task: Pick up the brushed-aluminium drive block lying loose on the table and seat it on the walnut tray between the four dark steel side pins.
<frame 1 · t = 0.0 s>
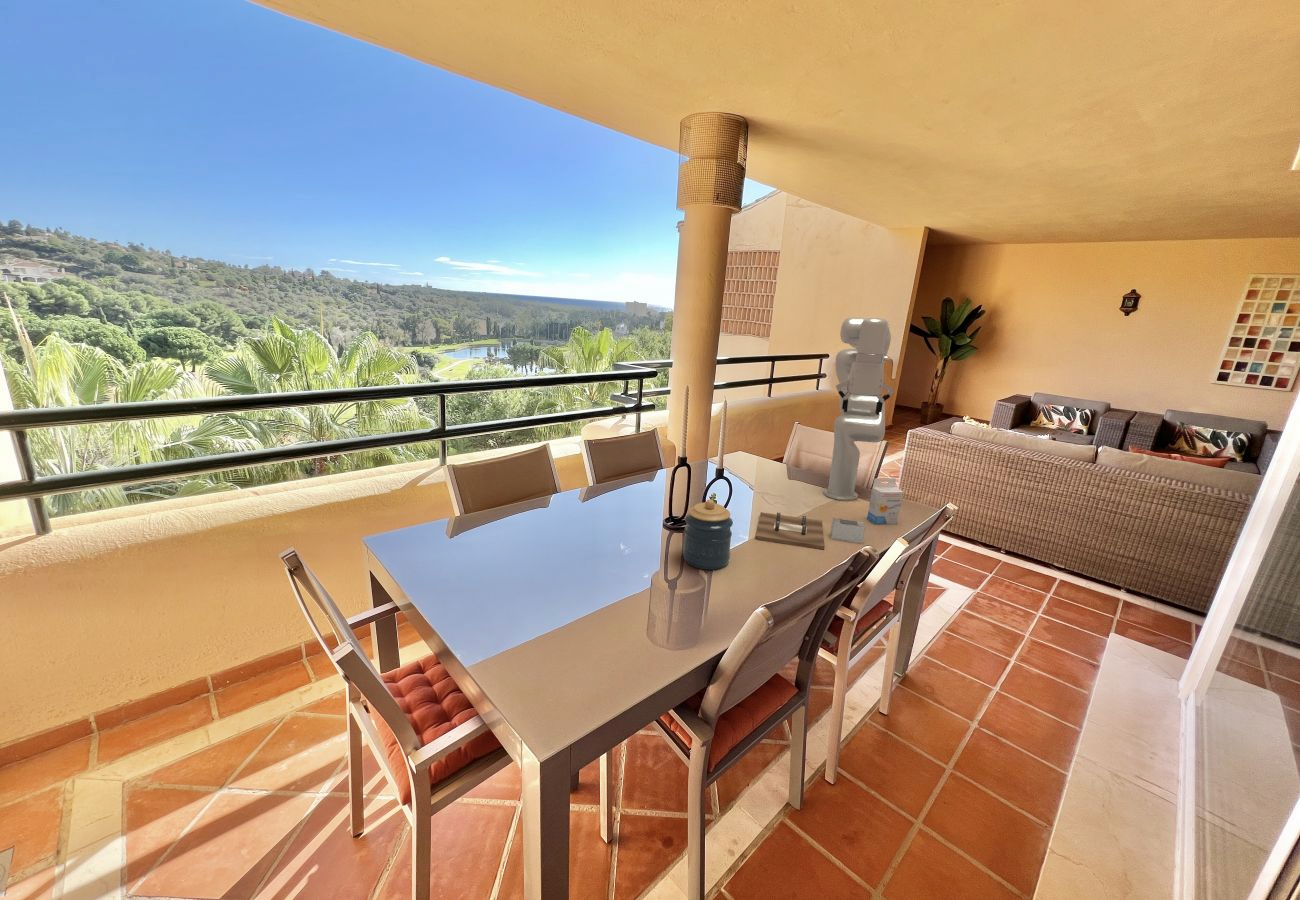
hand: (860, 412, 162), 37 cm above the table, tool pointing down, fingers open, 9 cm apart
pin tray: (789, 531, 159), on the table
drive: (846, 538, 156), on the table
canister: (705, 560, 139), on the table
ink box: (882, 522, 170), on the table
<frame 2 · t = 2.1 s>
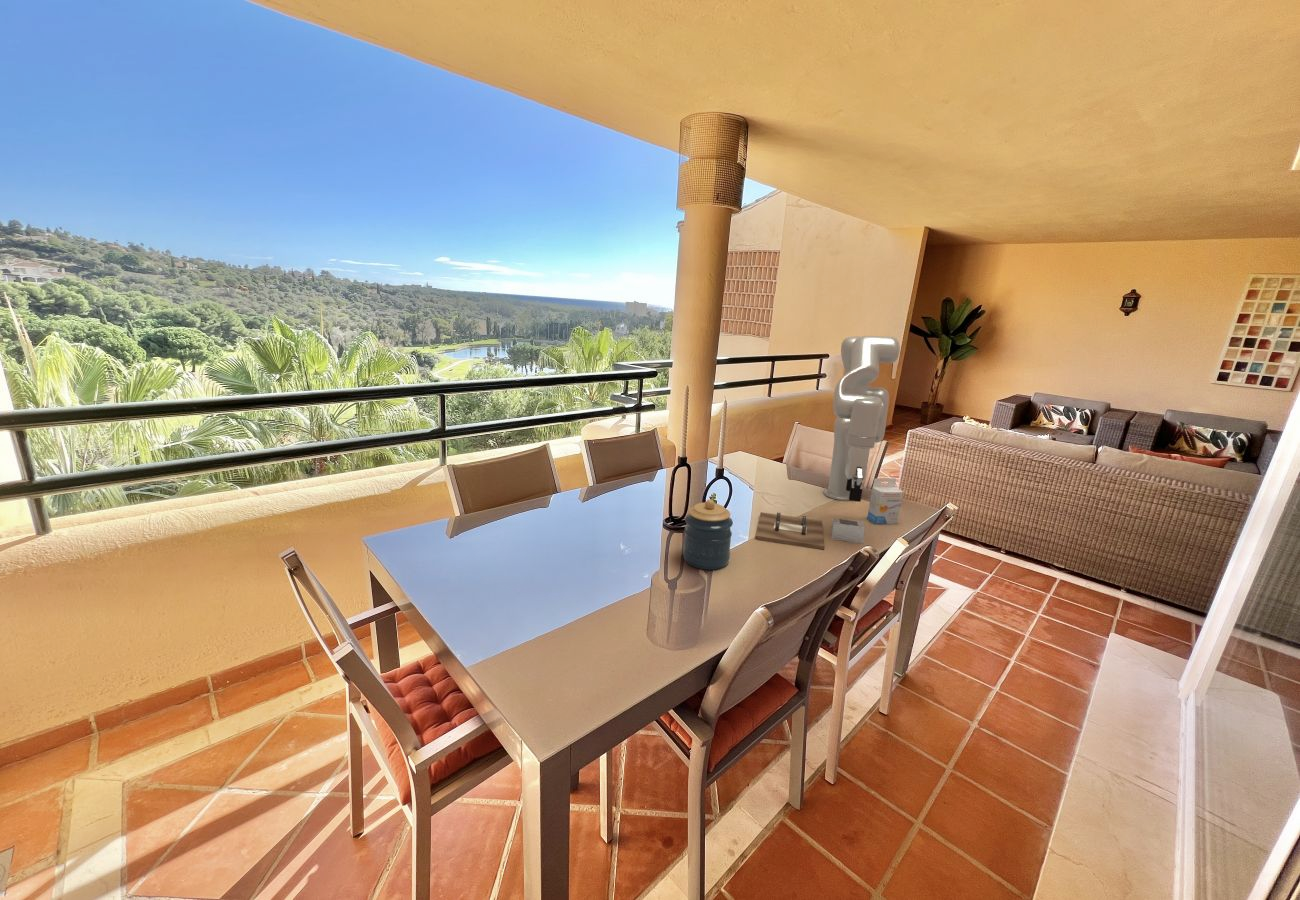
hand: (852, 495, 152), 14 cm above the table, tool pointing down, fingers open, 9 cm apart
nothing on the table moved.
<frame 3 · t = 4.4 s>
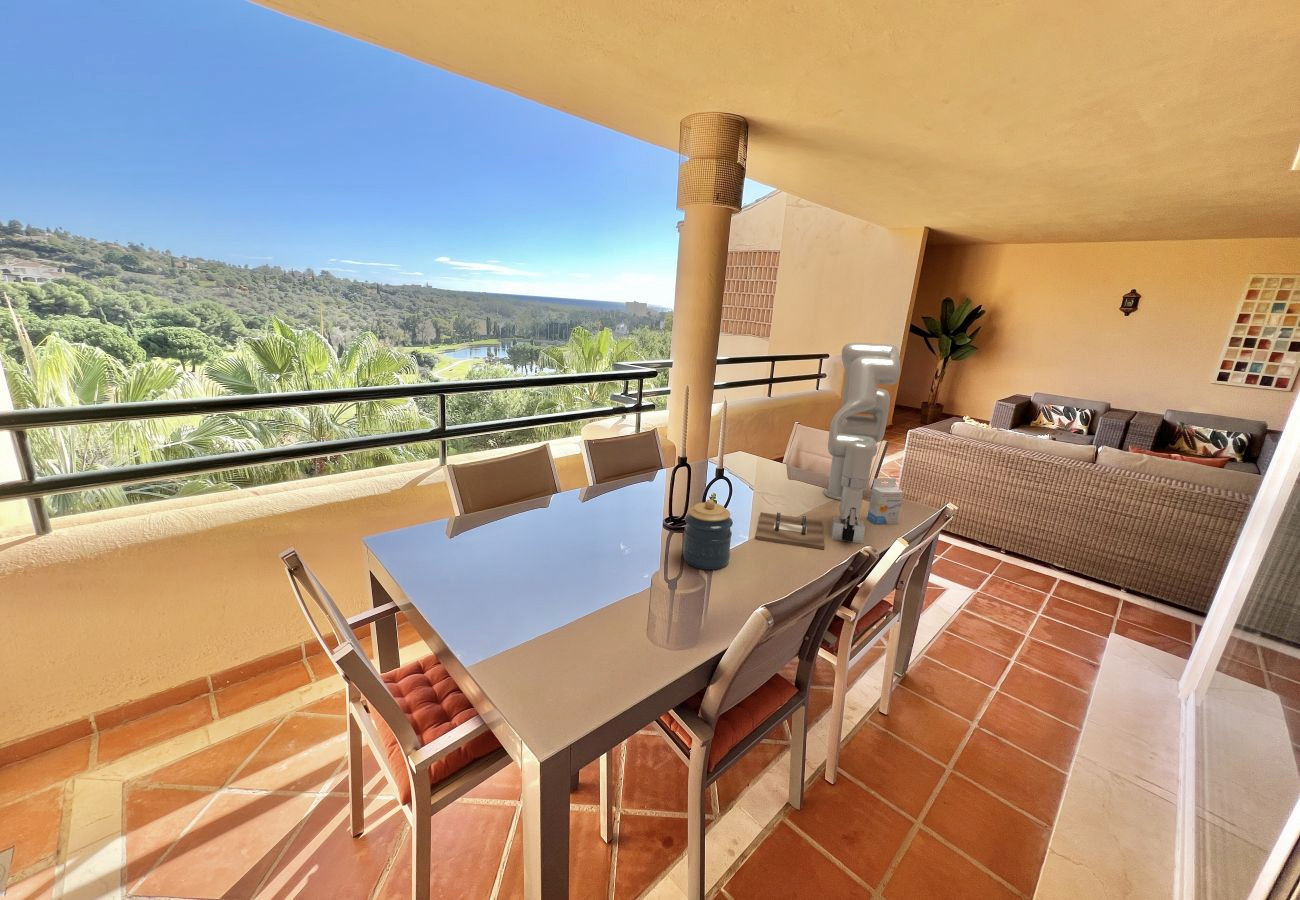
hand: (846, 536, 156), 1 cm above the table, tool pointing down, fingers closed on drive, 4 cm apart
drive: (846, 538, 156), on the table, touching gripper
everything else where it was.
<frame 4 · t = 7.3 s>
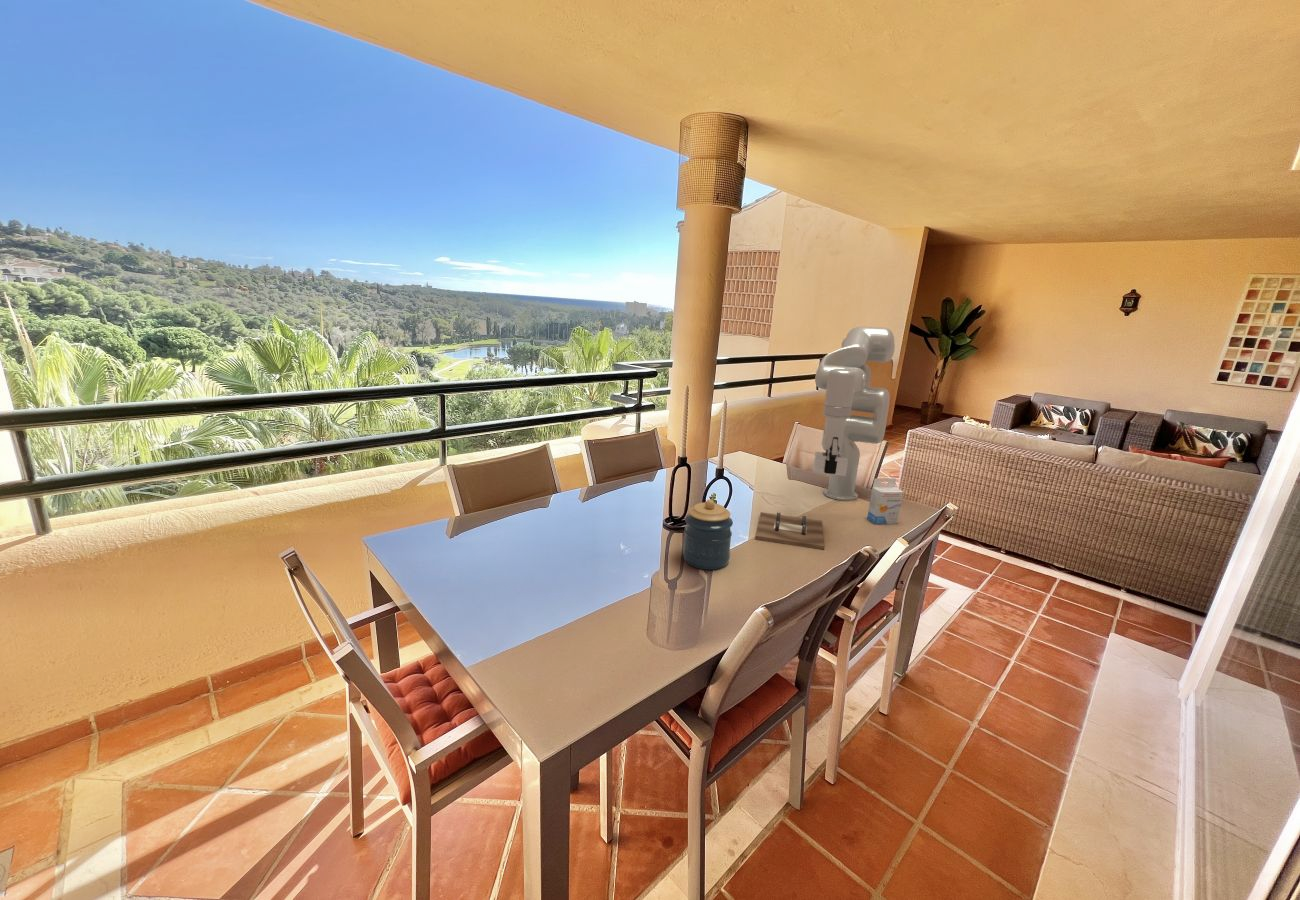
hand: (829, 470, 152), 21 cm above the table, tool pointing down, fingers closed on drive, 4 cm apart
drive: (829, 472, 152), point 21 cm above the table, touching gripper
everything else where it was.
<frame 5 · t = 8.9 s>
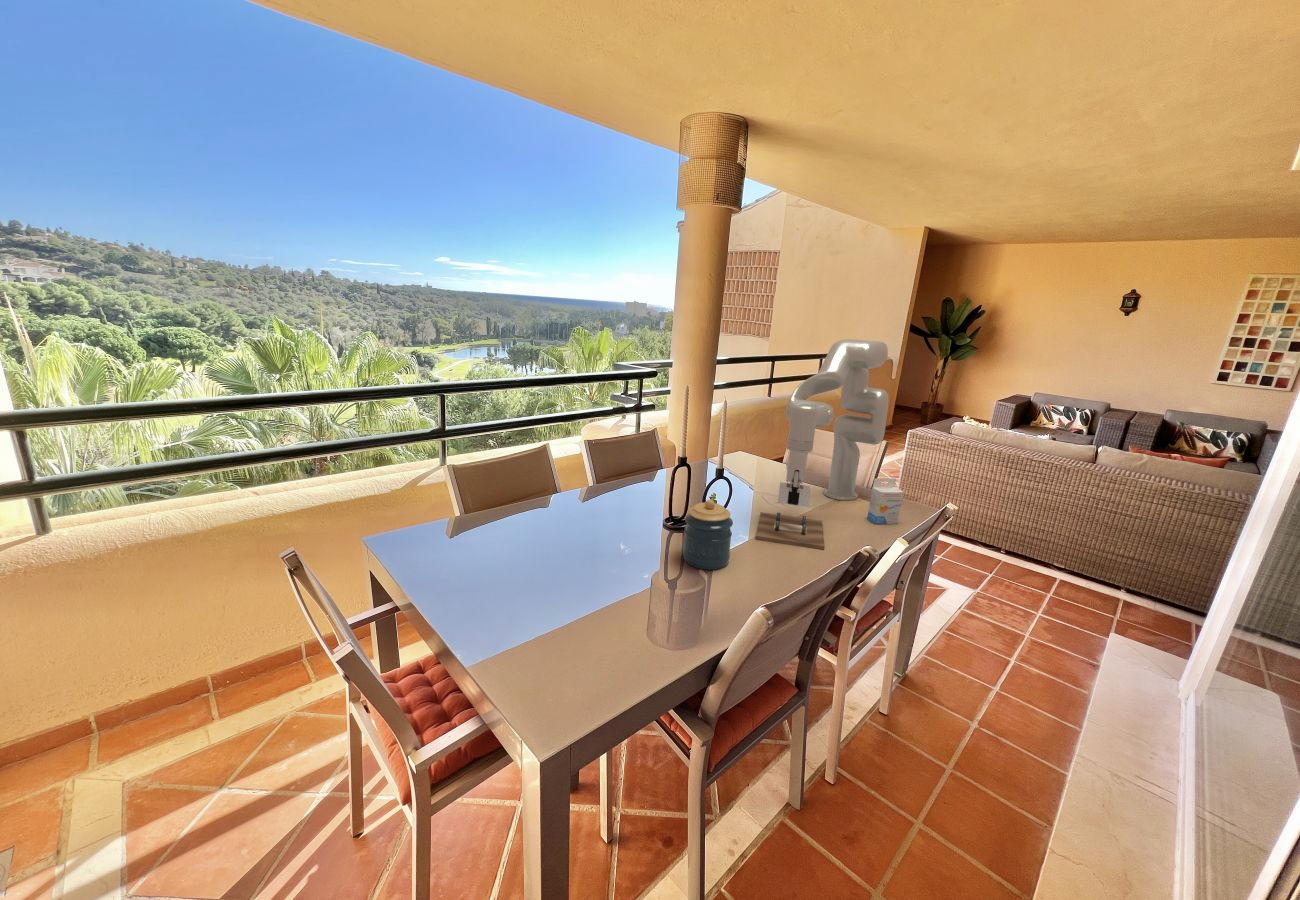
hand: (792, 500, 156), 10 cm above the table, tool pointing down, fingers closed on drive, 4 cm apart
drive: (792, 502, 157), point 10 cm above the table, touching gripper
everything else where it was.
when the fingers open (3 cm above the table, at t = 10.4 s): drive drops 1 cm, resting on pin tray.
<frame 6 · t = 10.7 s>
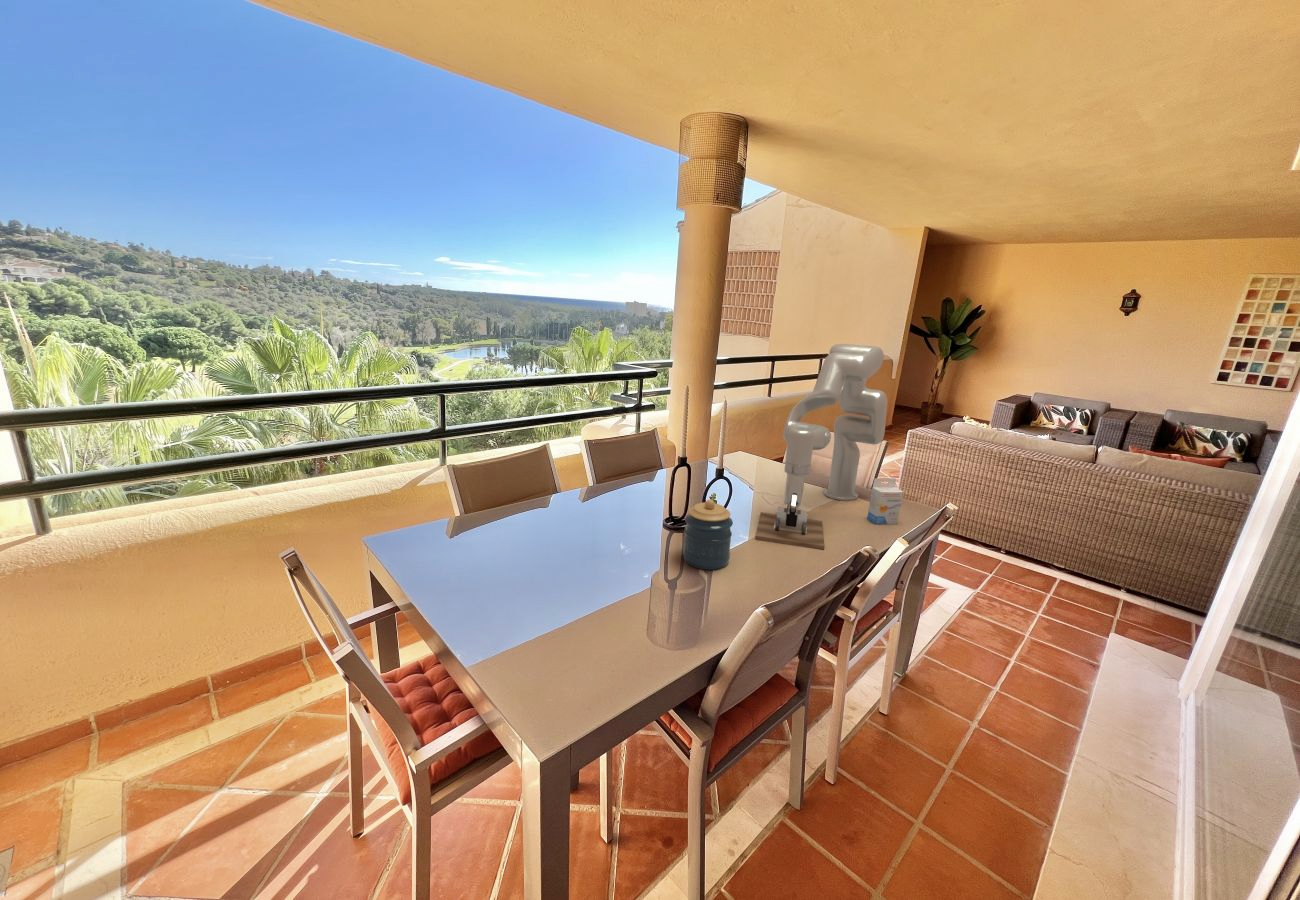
hand: (791, 520, 159), 4 cm above the table, tool pointing down, fingers open, 7 cm apart
drive: (790, 527, 159), point 1 cm above the table, touching pin tray
everything else where it was.
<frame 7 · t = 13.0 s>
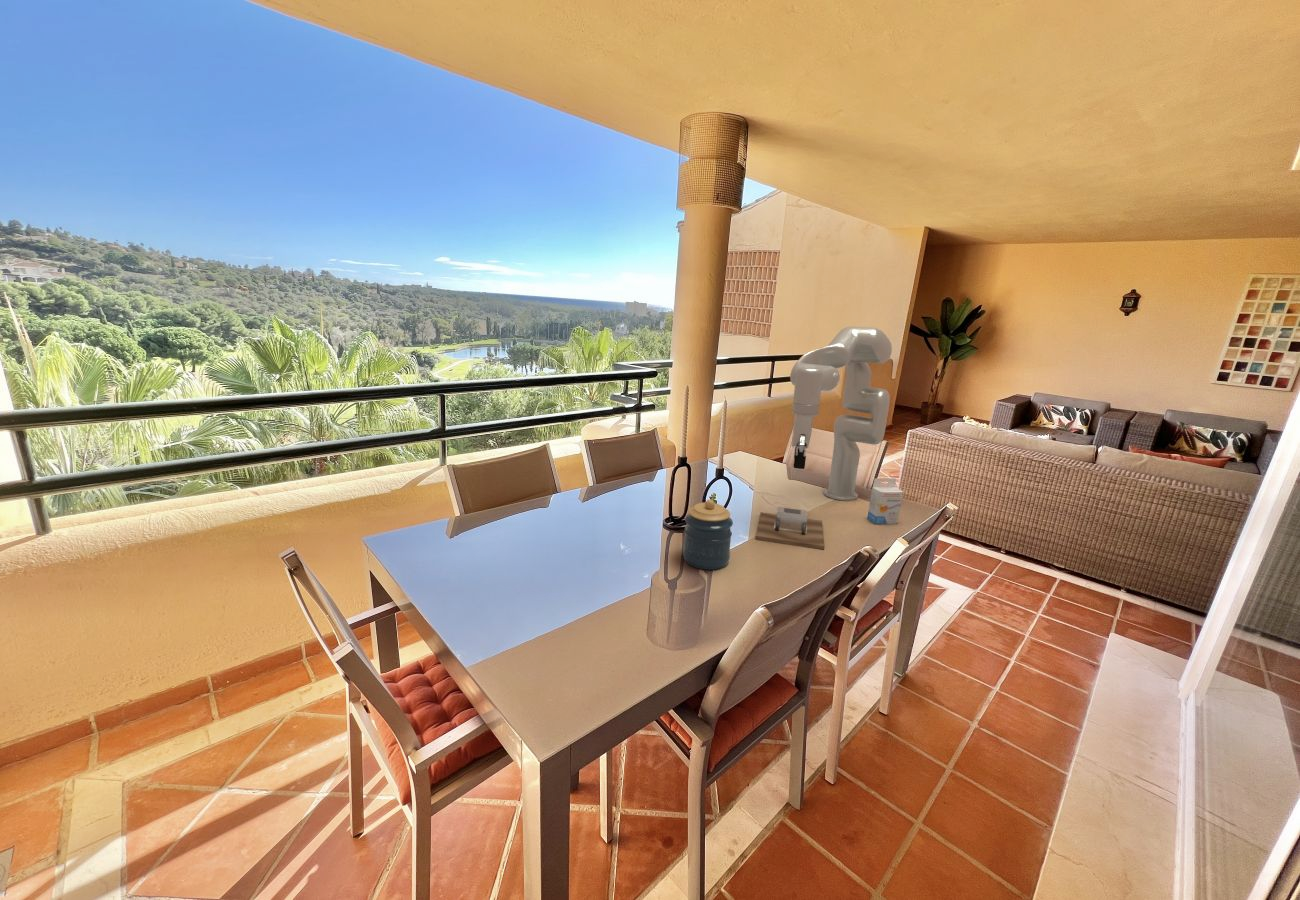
hand: (799, 463, 154), 22 cm above the table, tool pointing down, fingers open, 9 cm apart
nothing on the table moved.
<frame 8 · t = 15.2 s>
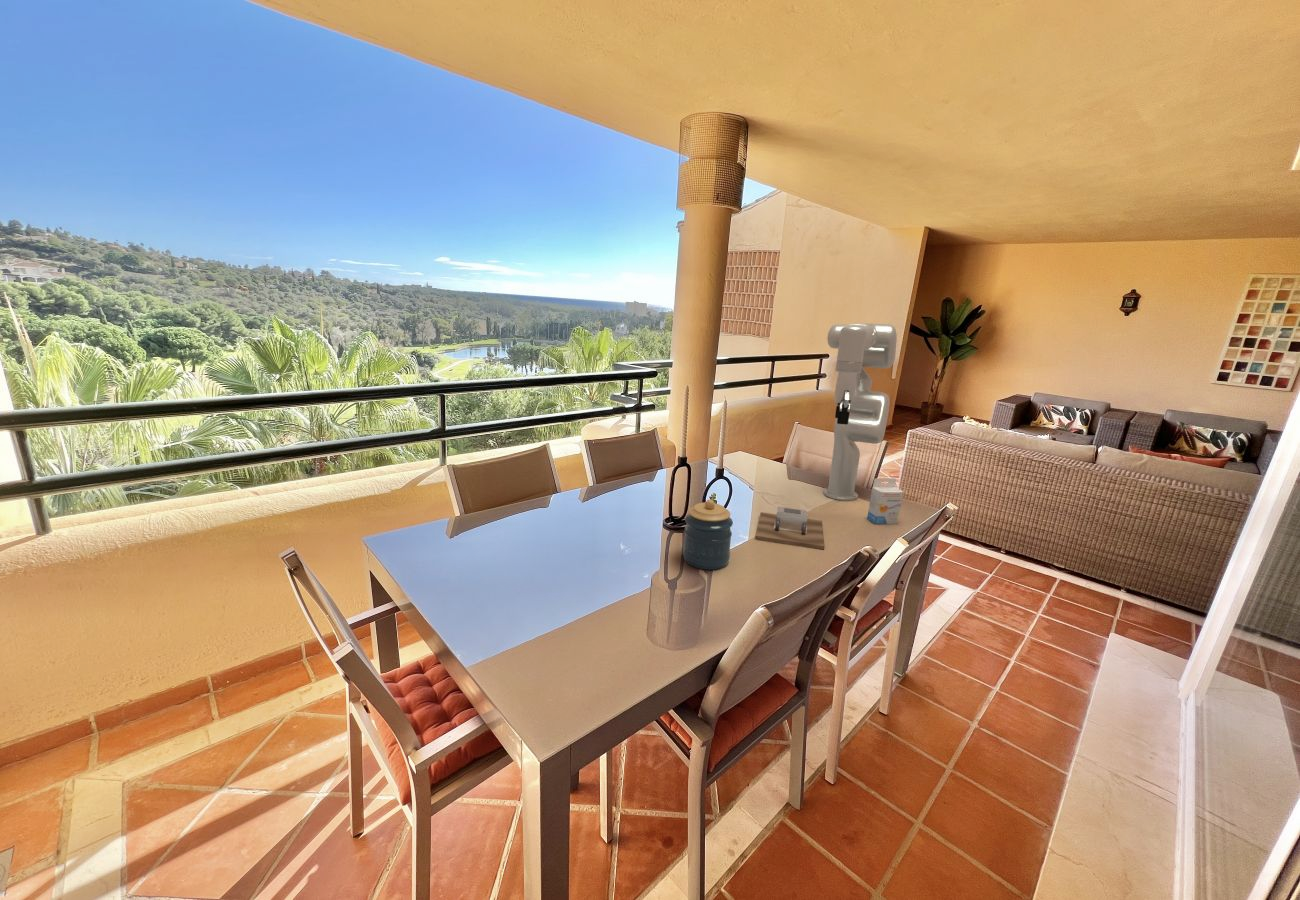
hand: (841, 421, 160), 34 cm above the table, tool pointing down, fingers open, 9 cm apart
nothing on the table moved.
at the end: drive 0.1 cm off-centre on the pin tray, point 1.4 cm above the pin tray's base; drive tilted 0°; the gripper is holding nothing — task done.
